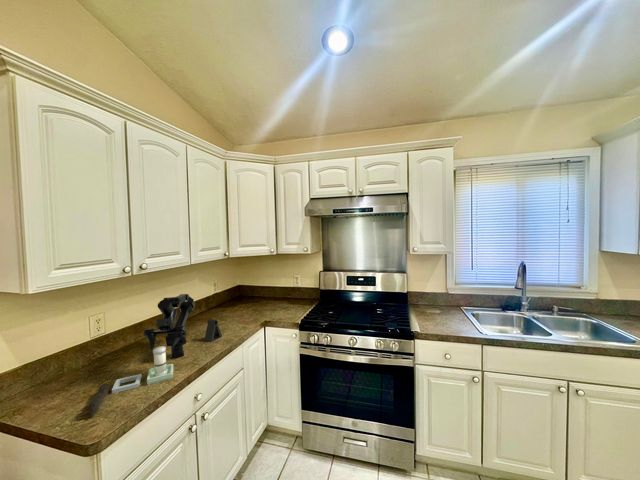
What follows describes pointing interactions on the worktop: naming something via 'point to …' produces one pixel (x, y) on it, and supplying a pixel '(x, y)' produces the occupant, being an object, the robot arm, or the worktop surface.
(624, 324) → the worktop surface
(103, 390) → the hand tool
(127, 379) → the rectangular open frame
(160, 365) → the mushroom-shaped knob
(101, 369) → the worktop surface
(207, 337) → the phone stand
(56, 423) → the worktop surface
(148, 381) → the parts tray
